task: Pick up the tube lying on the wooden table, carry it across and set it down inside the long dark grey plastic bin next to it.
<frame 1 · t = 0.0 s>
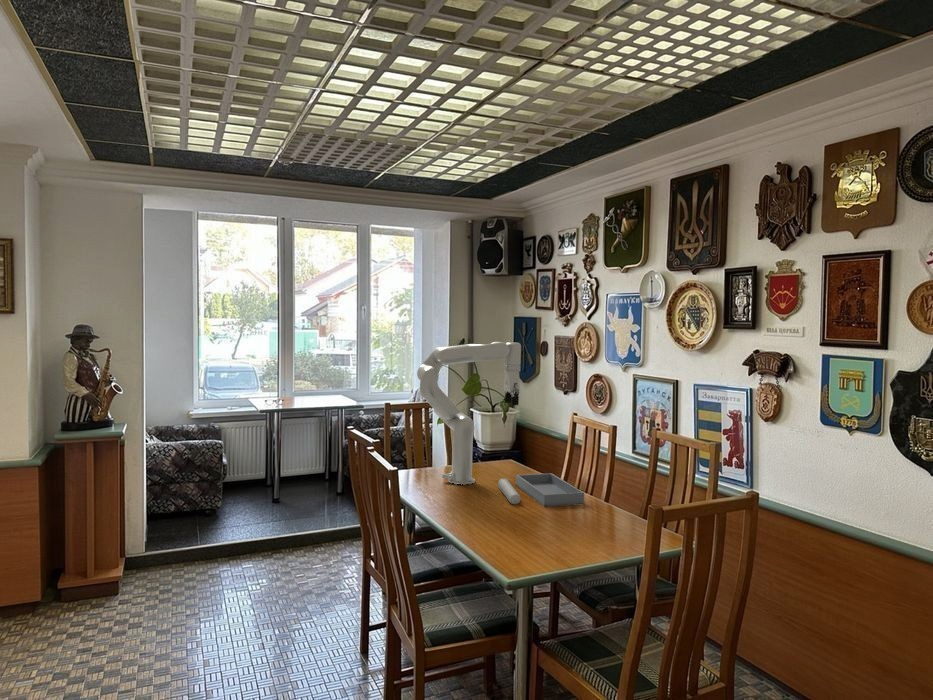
hand: (511, 403, 298), 37 cm above the table, tool pointing down, fingers open, 9 cm apart
tube: (509, 497, 270), on the table
bin: (547, 494, 275), on the table
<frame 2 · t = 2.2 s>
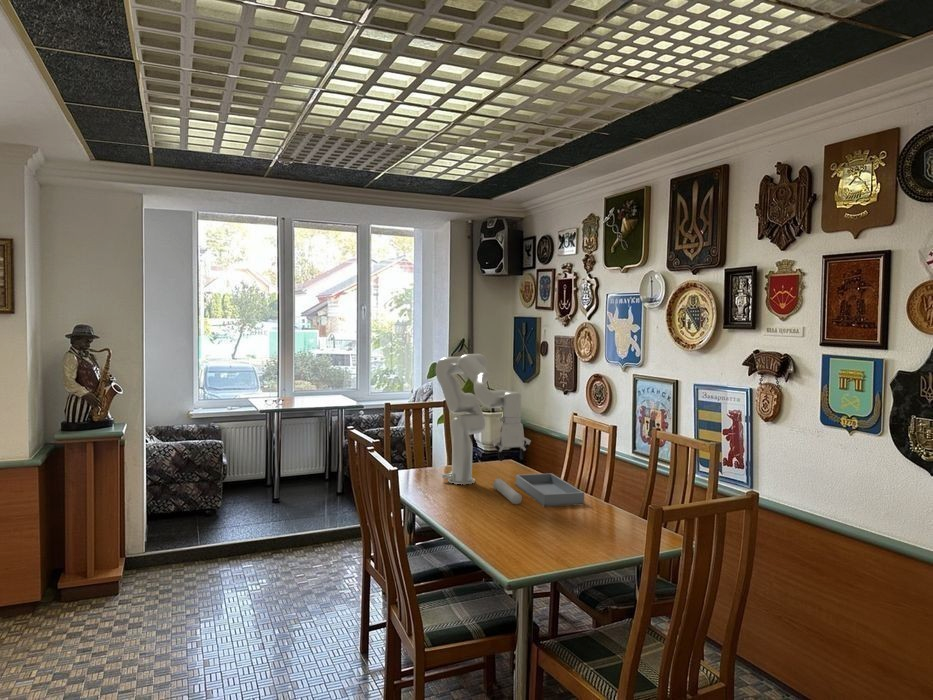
hand: (511, 459, 269), 16 cm above the table, tool pointing down, fingers open, 9 cm apart
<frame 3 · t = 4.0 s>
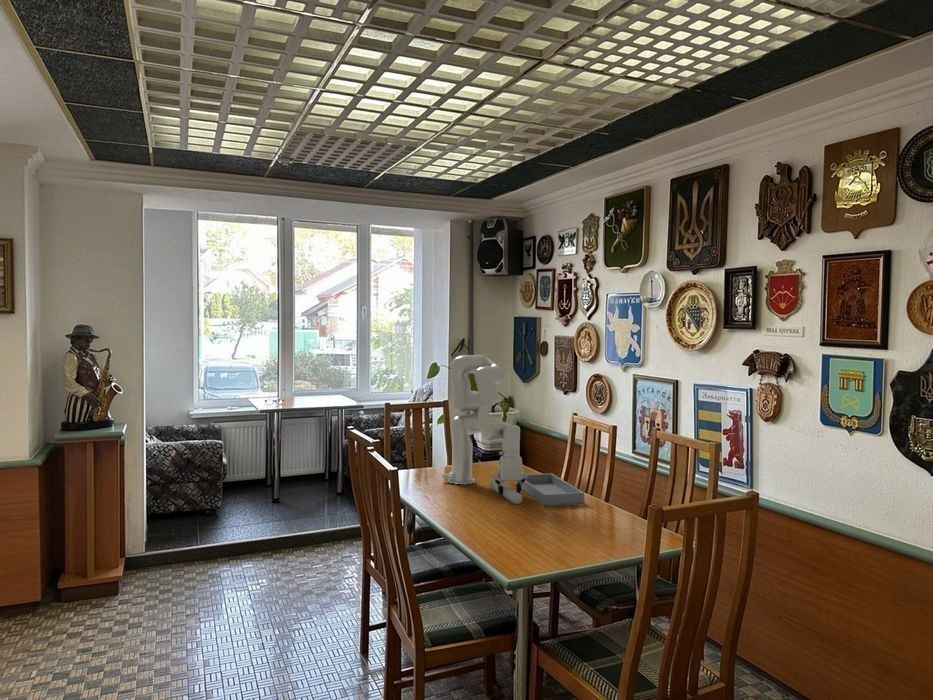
hand: (509, 493, 270), 1 cm above the table, tool pointing down, fingers open, 7 cm apart
tube: (506, 497, 270), on the table, touching gripper
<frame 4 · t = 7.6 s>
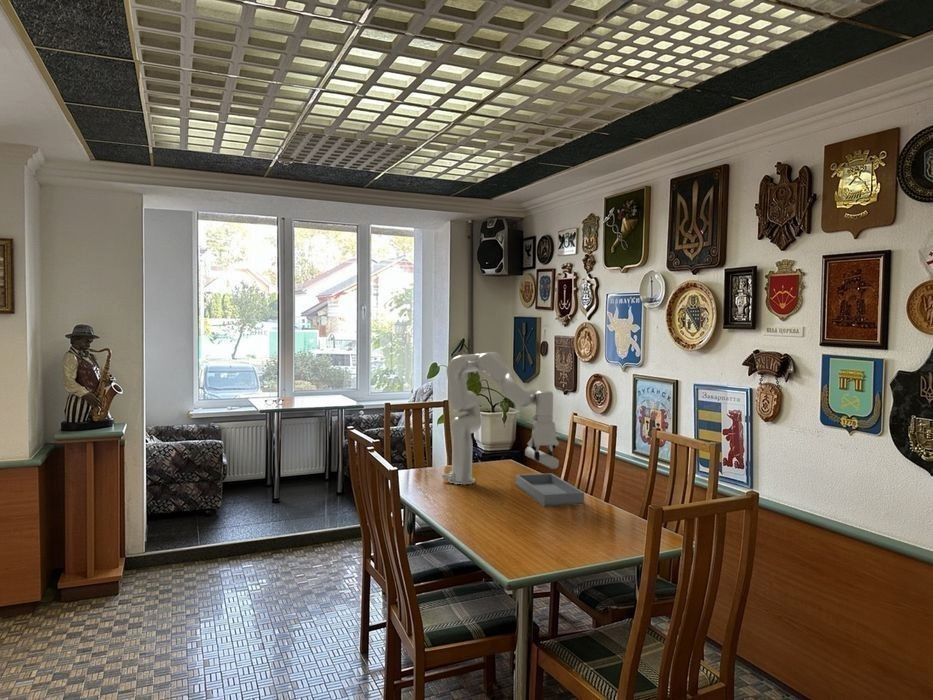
hand: (543, 459, 273), 16 cm above the table, tool pointing down, fingers closed on tube, 4 cm apart
tube: (542, 463, 273), point 14 cm above the table, touching gripper
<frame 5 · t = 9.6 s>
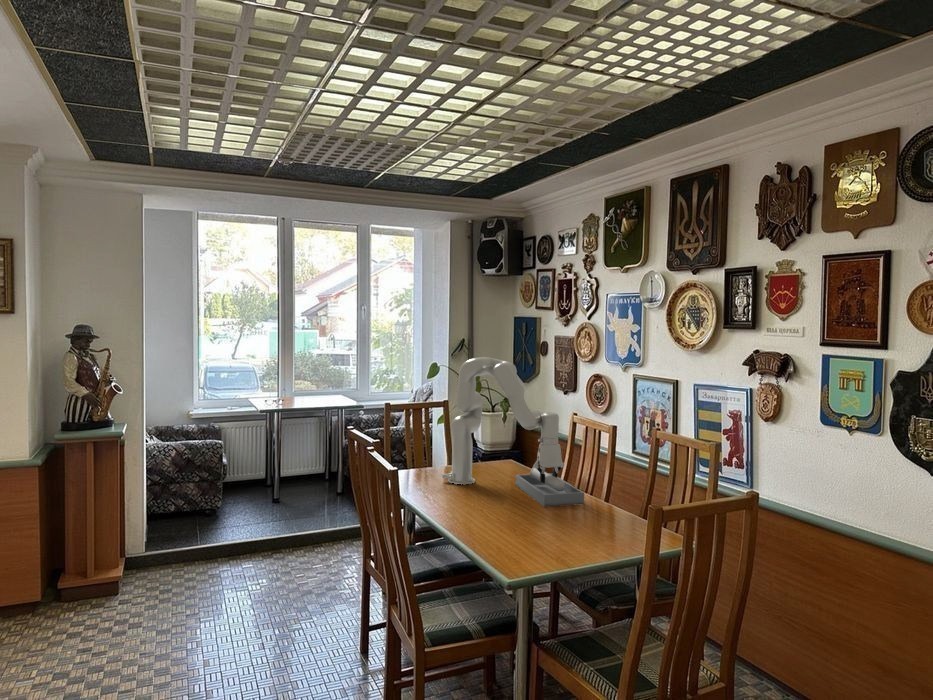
hand: (548, 481, 274), 6 cm above the table, tool pointing down, fingers closed on tube, 4 cm apart
tube: (547, 485, 275), point 4 cm above the table, touching gripper
when the fingers open (3 cm above the table, at t = 10.9 s): tube stays where it is, resting on bin.
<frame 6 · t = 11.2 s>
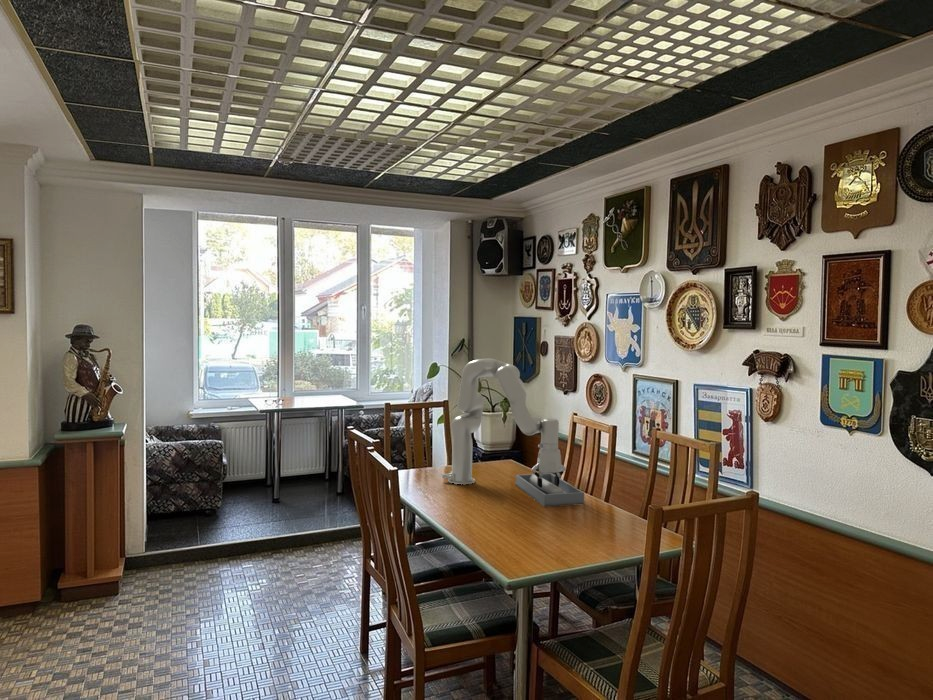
hand: (548, 486, 274), 4 cm above the table, tool pointing down, fingers open, 7 cm apart
tube: (546, 492, 275), point 1 cm above the table, touching bin
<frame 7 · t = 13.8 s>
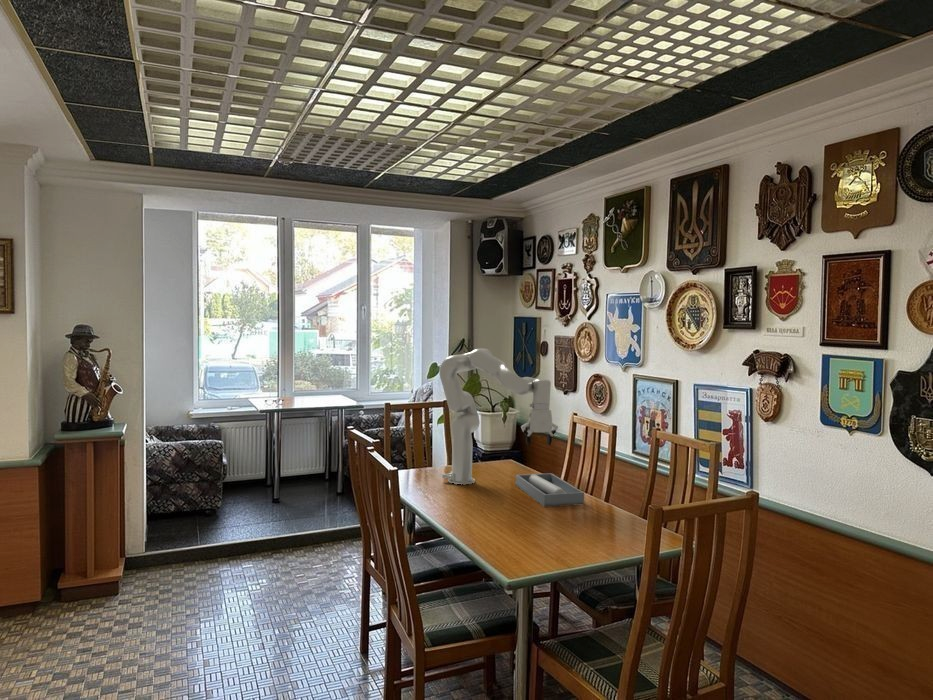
hand: (538, 444, 278), 21 cm above the table, tool pointing down, fingers open, 9 cm apart
nothing on the table moved.
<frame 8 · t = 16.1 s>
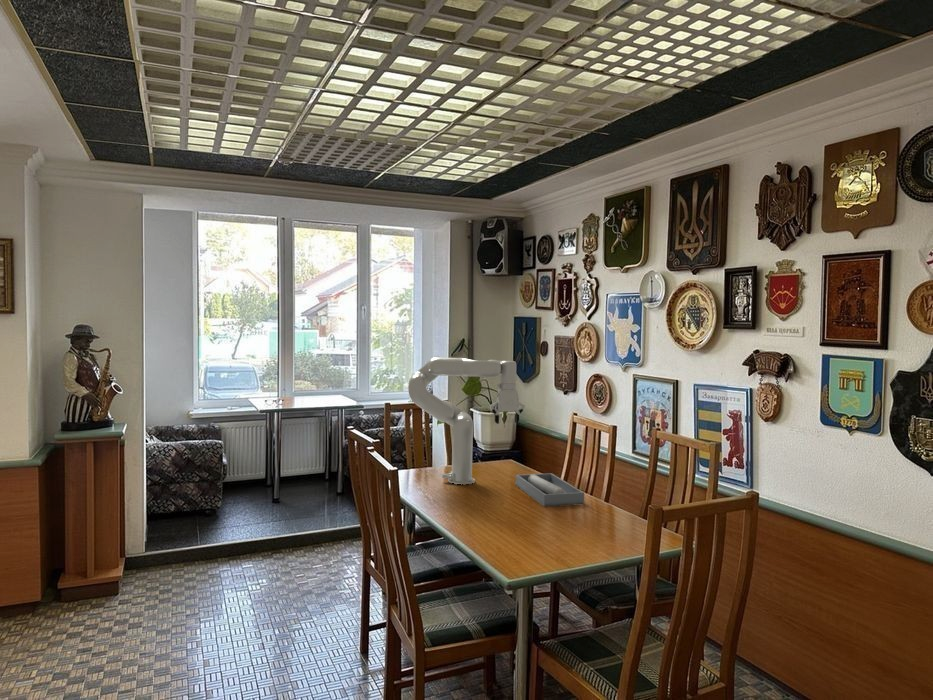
hand: (506, 423, 292), 28 cm above the table, tool pointing down, fingers open, 9 cm apart
nothing on the table moved.
at the end: tube inside the target area on the bin (0.7 cm from its centre), point 0.8 cm above the bin's base; the gripper is holding nothing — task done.
